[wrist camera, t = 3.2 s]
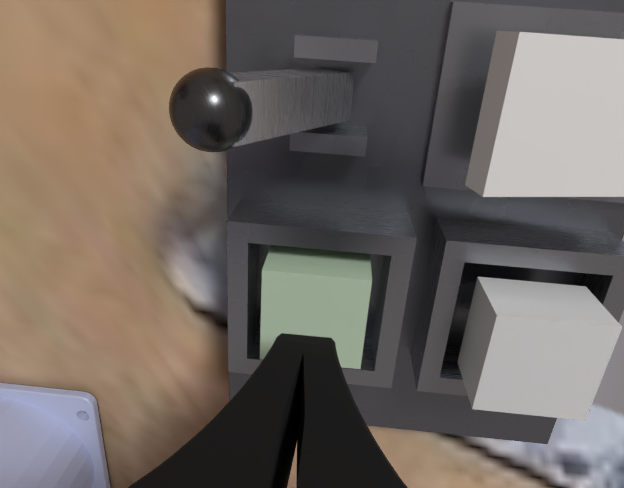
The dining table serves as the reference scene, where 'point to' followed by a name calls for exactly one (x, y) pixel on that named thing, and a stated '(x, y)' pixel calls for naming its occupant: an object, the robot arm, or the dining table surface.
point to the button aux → (535, 348)
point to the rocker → (551, 118)
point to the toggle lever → (256, 104)
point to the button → (316, 298)
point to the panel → (406, 193)
